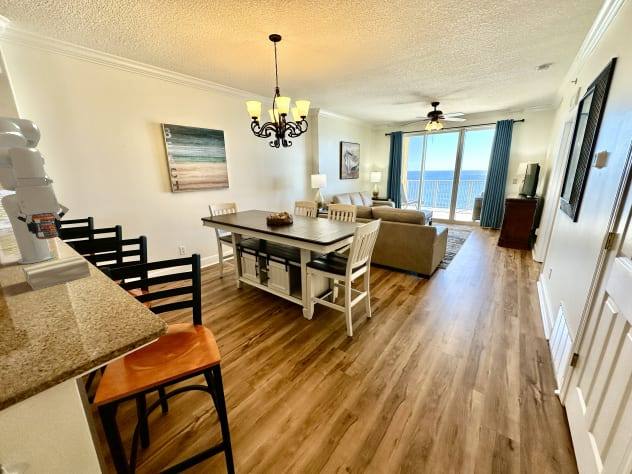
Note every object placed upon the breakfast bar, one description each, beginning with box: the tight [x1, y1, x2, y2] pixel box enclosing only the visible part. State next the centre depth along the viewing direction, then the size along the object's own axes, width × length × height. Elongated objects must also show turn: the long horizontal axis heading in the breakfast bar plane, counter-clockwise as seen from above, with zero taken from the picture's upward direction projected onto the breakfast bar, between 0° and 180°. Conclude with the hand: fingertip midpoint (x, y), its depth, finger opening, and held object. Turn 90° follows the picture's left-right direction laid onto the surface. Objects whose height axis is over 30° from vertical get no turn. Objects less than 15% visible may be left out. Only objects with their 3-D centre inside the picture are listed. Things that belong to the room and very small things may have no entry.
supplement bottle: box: [32, 213, 59, 240], centre depth 97 cm, size 6×6×11 cm
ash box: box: [21, 255, 92, 291], centre depth 101 cm, size 14×16×6 cm
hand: (46, 231), depth 97 cm, fingers closed on supplement bottle, 6 cm apart
